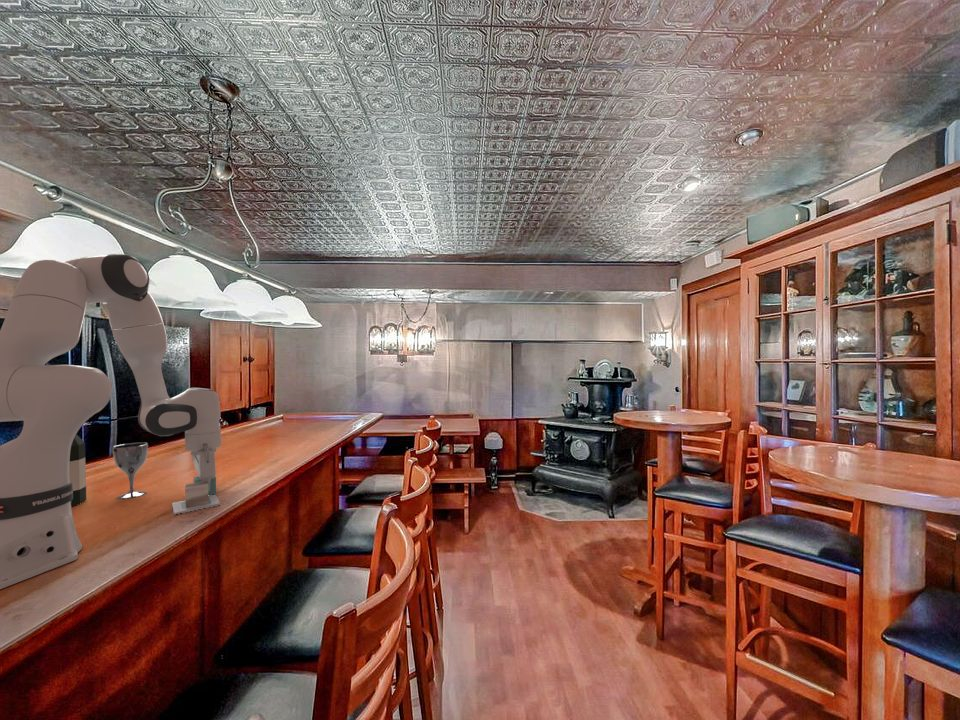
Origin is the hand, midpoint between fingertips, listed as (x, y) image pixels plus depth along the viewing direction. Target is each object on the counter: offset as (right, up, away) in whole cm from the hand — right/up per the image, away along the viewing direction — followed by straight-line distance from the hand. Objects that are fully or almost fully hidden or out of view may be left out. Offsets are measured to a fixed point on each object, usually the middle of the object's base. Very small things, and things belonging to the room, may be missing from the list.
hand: (204, 488), depth 119 cm
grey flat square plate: (+4, -2, -10) cm, 11 cm away
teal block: (0, -2, 0) cm, 2 cm away
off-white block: (+5, -1, -10) cm, 11 cm away
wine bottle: (-35, -3, -7) cm, 35 cm away
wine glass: (-22, -2, 0) cm, 22 cm away
